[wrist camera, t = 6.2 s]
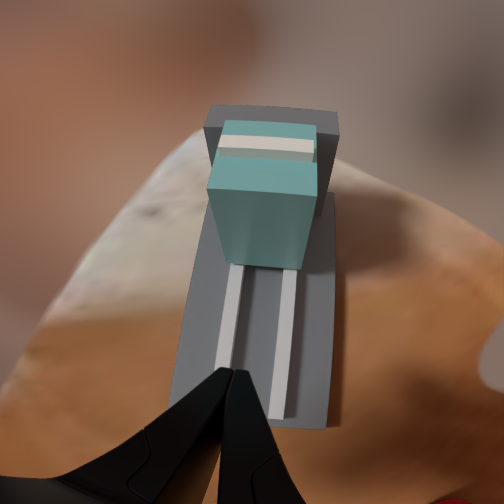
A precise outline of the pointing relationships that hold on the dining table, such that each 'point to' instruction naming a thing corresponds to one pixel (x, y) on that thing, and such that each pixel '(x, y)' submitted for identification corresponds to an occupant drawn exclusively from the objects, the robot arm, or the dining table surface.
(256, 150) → the fader knob
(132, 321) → the dining table surface
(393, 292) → the dining table surface
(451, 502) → the beverage can
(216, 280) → the fader track
